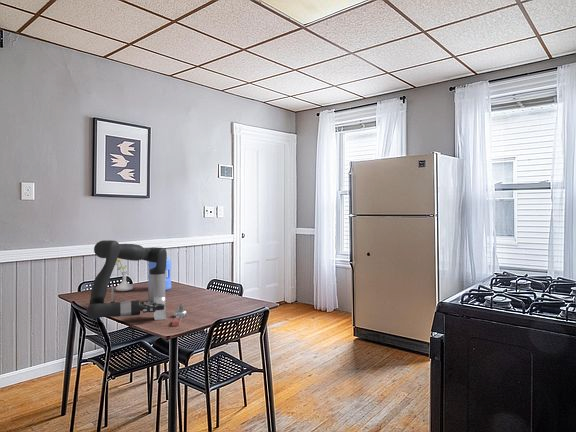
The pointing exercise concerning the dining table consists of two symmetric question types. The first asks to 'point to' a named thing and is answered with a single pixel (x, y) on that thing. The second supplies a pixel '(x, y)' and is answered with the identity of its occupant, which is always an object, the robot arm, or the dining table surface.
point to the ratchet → (179, 315)
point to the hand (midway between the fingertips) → (163, 305)
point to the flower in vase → (124, 284)
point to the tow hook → (112, 294)
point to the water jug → (168, 267)
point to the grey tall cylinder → (160, 313)
